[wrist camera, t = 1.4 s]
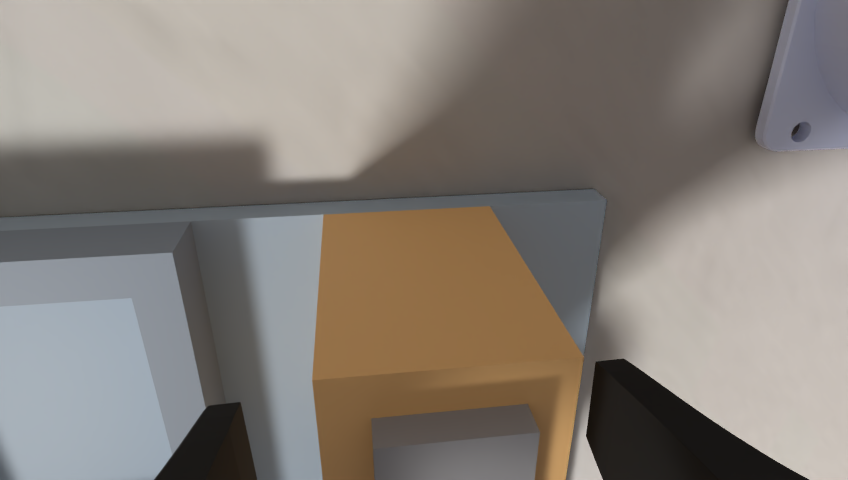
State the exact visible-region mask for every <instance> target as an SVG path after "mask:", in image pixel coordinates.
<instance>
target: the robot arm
mask: <svg viewBox="0 0 848 480" xmlns="http://www.w3.org/2000/svg"><path fill="white" fill-rule="evenodd" d="M799 123H800V128H799V130H798V132H797V133H796V134H795V135H794V136H793V137H791V132H792V130H793V129H794V127H795V126H796V125H797V124H799ZM755 138H756V141H757V143H758V144H759V145H760V146H761V147H763V148H765V149H768V150H771V151H776V152H777V151H801V150H825V149H848V0H789V1H788V5H787V9H786V13H785V17H784V21H783V25H782V29H781V33H780V37H779V40H778V44H777V48H776V52H775V56H774V60H773V64H772V68H771V72H770V76H769V79H768V83H767V87H766V91H765V95H764V99H763V103H762V107H761V111H760V114H759V118H758V122H757V126H756V131H755ZM586 437H587V440H588V442H589V445H590V448H591V450H592V453H593V455H594V458H595V461H596V463H597V466H598V468H599V471H600V473H601V476H602V478H603V480H809V479H807V478H805V477H803V476H801V475H800V474H798V473H796V472H794V471H792V470H790V469H789V468H787V467H785V466H783V465H782V464H780V463H778V462H777V461H775V460H773V459H771V458H770V457H768V456H767V455H765V454H763V453H762V452H760V451H759V450H757V449H755V448H754V447H752V446H751V445H749V444H747V443H746V442H744V441H742V440H741V439H739V438H738V437H736V436H735V435H733V434H732V433H730V432H728V431H727V430H725V429H724V428H722V427H721V426H719V425H718V424H716V423H715V422H713V421H712V420H710V419H709V418H708V417H706V416H705V415H703V414H702V413H700V412H699V411H697V410H696V409H694V408H693V407H692V406H690V405H689V404H687V403H686V402H684V401H683V400H682V399H680V398H679V397H677V396H676V395H675V394H673V393H672V392H670V391H669V390H668V389H666V388H665V387H663V386H662V385H661V384H659V383H658V382H656V381H655V380H654V379H652V378H651V377H650V376H648V375H647V374H645V373H644V372H642V371H641V370H640V369H638V368H637V367H635V366H634V365H632V364H631V363H629V362H628V361H626V360H625V359H616V360H607V361H598V362H596V363H595V371H594V379H593V387H592V395H591V402H590V410H589V418H588V426H587V434H586ZM154 480H257V476H256V471H255V466H254V462H253V457H252V452H251V448H250V443H249V439H248V434H247V429H246V425H245V420H244V415H243V411H242V406H241V402H236V403H227V404H218V405H209V406H208V407H207V408H206V409H205V410H204V411H203V412H202V414H201V415H200V417H199V418H198V419H197V421H196V422H195V424H194V425H193V427H192V428H191V429H190V431H189V432H188V434H187V435H186V437H185V438H184V439H183V441H182V442H181V444H180V445H179V447H178V448H177V449H176V451H175V452H174V453H173V455H172V456H171V458H170V459H169V460H168V462H167V463H166V464H165V466H164V467H163V468H162V470H161V471H160V472H159V474H158V475H157V476H156V478H155V479H154Z"/></svg>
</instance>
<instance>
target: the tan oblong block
mask: <svg viewBox="0 0 848 480" xmlns="http://www.w3.org/2000/svg"><path fill="white" fill-rule="evenodd" d="M583 361H584V356H583V355H582V353H581V352H580V350H579V348H578V347H577V345H576V344H575V342H574V340H573V339H572V337H571V336H570V334H569V332H568V331H567V329H566V328H565V326H564V324H563V323H562V321H561V320H560V318H559V316H558V315H557V313H556V312H555V310H554V308H553V307H552V305H551V303H550V302H549V300H548V299H547V297H546V295H545V294H544V292H543V291H542V289H541V287H540V286H539V284H538V283H537V281H536V279H535V278H534V276H533V275H532V273H531V271H530V270H529V268H528V267H527V265H526V263H525V262H524V260H523V259H522V257H521V255H520V254H519V252H518V251H517V249H516V247H515V246H514V244H513V243H512V241H511V239H510V238H509V236H508V235H507V233H506V231H505V230H504V228H503V227H502V225H501V223H500V222H499V220H498V219H497V217H496V215H495V214H494V212H493V211H492V209H491V207H490V206H481V207H462V208H442V209H422V210H403V211H383V212H363V213H344V214H324V215H323V228H322V243H321V257H320V272H319V286H318V301H317V315H316V330H315V345H314V359H313V374H312V384H313V394H314V403H315V412H316V422H317V431H318V440H319V450H320V459H321V468H322V478H323V480H566V474H567V467H568V461H569V454H570V447H571V441H572V434H573V427H574V421H575V414H576V407H577V401H578V394H579V387H580V381H581V374H582V367H583Z"/></svg>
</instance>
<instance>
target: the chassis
mask: <svg viewBox="0 0 848 480" xmlns="http://www.w3.org/2000/svg"><path fill="white" fill-rule="evenodd" d="M606 204H607V200H606V199H605V198H604V197H603V196H602V195H601V194H600V193H598V192H597V191H596V190H595V189H583V190H562V191H541V192H520V193H500V194H479V195H458V196H438V197H417V198H396V199H375V200H355V201H334V202H313V203H292V204H272V205H251V206H230V207H209V208H189V209H168V210H147V211H126V212H106V213H85V214H64V215H43V216H23V217H2V218H0V480H154V479H155V478H156V476H157V475H158V474H159V472H160V471H161V470H162V468H163V467H164V466H165V464H166V463H167V462H168V460H169V459H170V458H171V456H172V455H173V453H174V452H175V451H176V449H177V448H178V447H179V445H180V444H181V442H182V441H183V439H184V438H185V437H186V435H187V434H188V432H189V431H190V429H191V428H192V427H193V425H194V424H195V422H196V421H197V419H198V418H199V417H200V415H201V414H202V412H203V411H204V410H205V409H206V408H207V407H208V406H209V405H218V404H227V403H236V402H241V406H242V411H243V415H244V420H245V425H246V429H247V434H248V439H249V443H250V448H251V452H252V457H253V462H254V466H255V471H256V476H257V480H323V478H322V468H321V459H320V450H319V440H318V431H317V422H316V412H315V403H314V394H313V384H312V374H313V359H314V345H315V330H316V315H317V301H318V286H319V272H320V257H321V243H322V228H323V215H324V214H344V213H363V212H383V211H403V210H422V209H442V208H462V207H481V206H490V207H491V209H492V211H493V212H494V214H495V215H496V217H497V219H498V220H499V222H500V223H501V225H502V227H503V228H504V230H505V231H506V233H507V235H508V236H509V238H510V239H511V241H512V243H513V244H514V246H515V247H516V249H517V251H518V252H519V254H520V255H521V257H522V259H523V260H524V262H525V263H526V265H527V267H528V268H529V270H530V271H531V273H532V275H533V276H534V278H535V279H536V281H537V283H538V284H539V286H540V287H541V289H542V291H543V292H544V294H545V295H546V297H547V299H548V300H549V302H550V303H551V305H552V307H553V308H554V310H555V312H556V313H557V315H558V316H559V318H560V320H561V321H562V323H563V324H564V326H565V328H566V329H567V331H568V332H569V334H570V336H571V337H572V339H573V340H574V342H575V344H576V345H577V347H578V348H579V350H580V352H581V353H582V355H583V356H584V351H585V344H586V337H587V331H588V324H589V317H590V311H591V304H592V297H593V291H594V284H595V277H596V271H597V264H598V257H599V251H600V244H601V237H602V231H603V224H604V217H605V211H606Z"/></svg>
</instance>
